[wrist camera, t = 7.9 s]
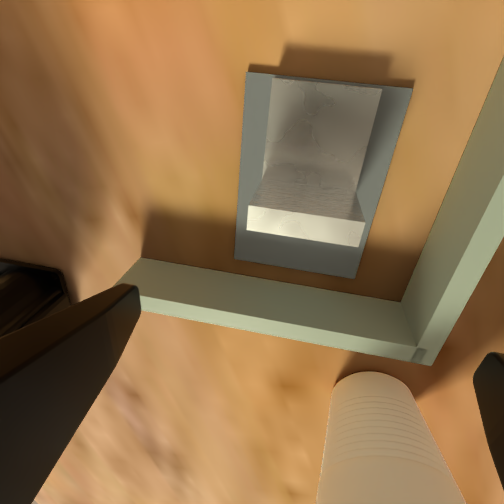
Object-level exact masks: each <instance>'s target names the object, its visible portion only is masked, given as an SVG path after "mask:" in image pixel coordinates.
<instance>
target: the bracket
mask: <svg viewBox="0 0 504 504" xmlns="http://www.w3.org/2000/svg"><path fill="white" fill-rule="evenodd" d="M381 93H382V89H380V88H372V87H362V86H352V85H342V84H332V83H322V82H312V81H302V80H292V79H282V78H272V87H271V96H270V106H269V116H268V126H267V136H266V145H265V155H264V165H263V175H262V180H261V182H260V184H259V186H258V188H257V190H256V192H255V194H254V195H253V197H252V199H251V201H250V203H249V205H248V217H247V229H246V230H250V231H257V232H263V233H270V234H276V235H282V236H289V237H295V238H302V239H308V240H314V241H321V242H327V243H334V244H340V245H346V246H353V247H358V246H359V243H360V240H361V236H362V233H363V230H364V226H365V223H366V222H365V219H364V216H363V213H362V210H361V207H360V204H359V201H358V197H357V194H356V188H357V184H358V180H359V176H360V172H361V169H362V165H363V161H364V157H365V153H366V150H367V146H368V142H369V138H370V135H371V131H372V127H373V123H374V119H375V116H376V112H377V108H378V104H379V100H380V97H381Z"/></svg>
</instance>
